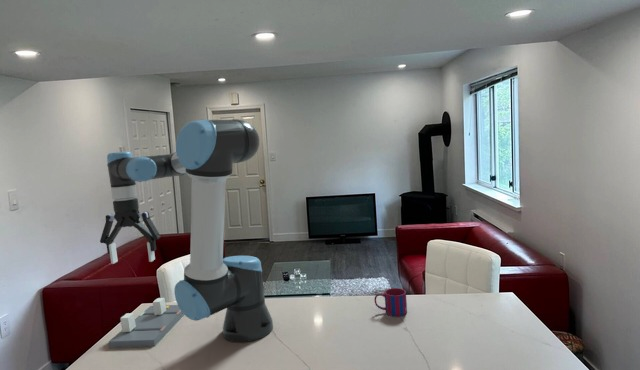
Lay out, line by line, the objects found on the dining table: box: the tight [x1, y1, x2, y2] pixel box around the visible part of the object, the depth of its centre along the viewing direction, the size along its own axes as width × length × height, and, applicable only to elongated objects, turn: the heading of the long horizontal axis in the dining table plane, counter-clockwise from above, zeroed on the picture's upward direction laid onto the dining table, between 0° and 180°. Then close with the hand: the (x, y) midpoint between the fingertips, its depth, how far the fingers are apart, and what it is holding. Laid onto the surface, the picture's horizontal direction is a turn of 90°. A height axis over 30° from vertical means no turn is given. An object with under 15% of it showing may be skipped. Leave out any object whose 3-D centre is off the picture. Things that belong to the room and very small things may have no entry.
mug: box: [374, 287, 408, 318], centre depth 134 cm, size 7×10×7 cm
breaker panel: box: [108, 304, 185, 349], centre depth 137 cm, size 26×14×2 cm, turn 175°
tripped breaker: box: [152, 297, 167, 315], centre depth 143 cm, size 4×2×4 cm
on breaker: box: [120, 312, 136, 332], centre depth 131 cm, size 4×2×4 cm
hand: (133, 261), depth 142 cm, fingers open, 12 cm apart
